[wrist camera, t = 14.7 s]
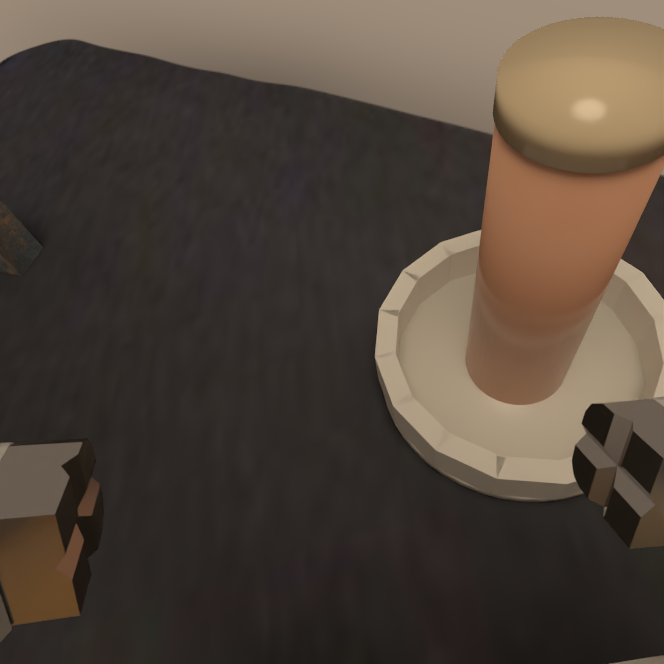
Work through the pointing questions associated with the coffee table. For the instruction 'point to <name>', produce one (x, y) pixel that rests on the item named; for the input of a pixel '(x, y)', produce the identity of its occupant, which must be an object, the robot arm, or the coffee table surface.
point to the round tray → (494, 416)
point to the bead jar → (561, 194)
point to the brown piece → (15, 244)
